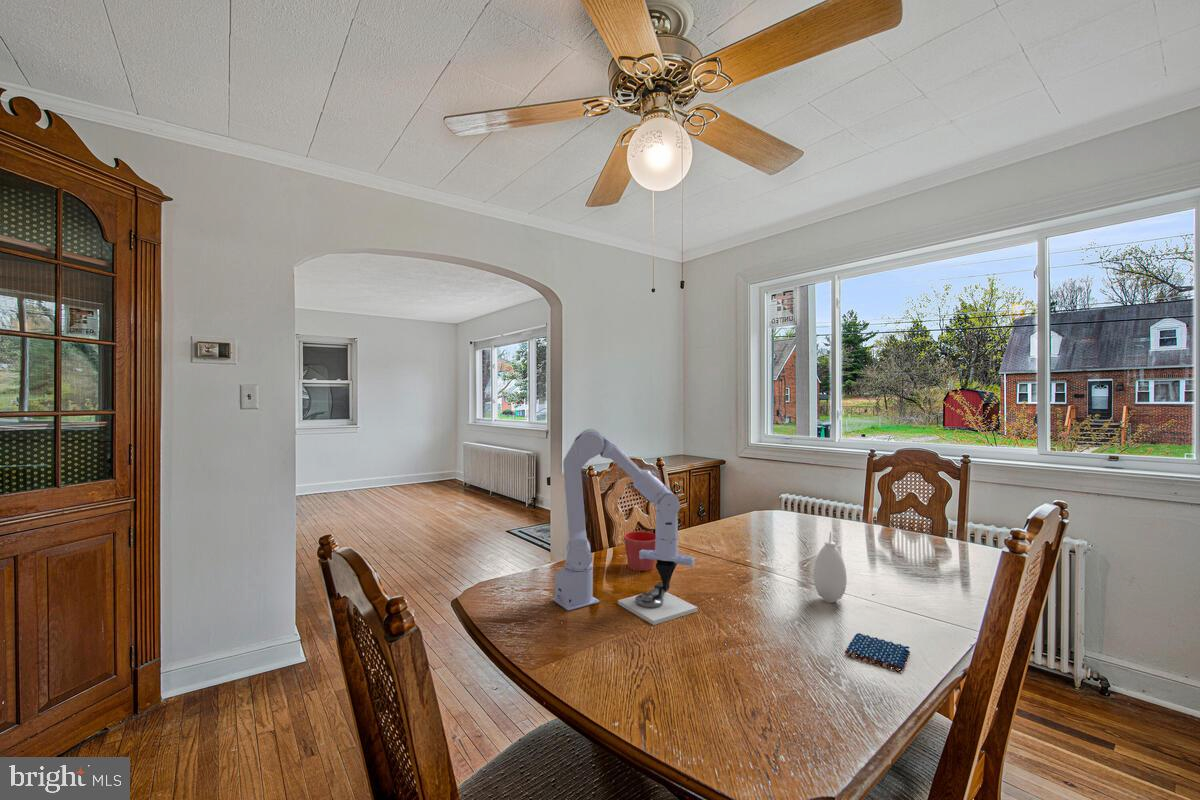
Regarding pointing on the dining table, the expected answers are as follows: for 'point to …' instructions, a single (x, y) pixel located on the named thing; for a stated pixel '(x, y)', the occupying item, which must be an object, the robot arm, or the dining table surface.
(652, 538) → the flower pot
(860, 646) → the woven mat
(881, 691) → the dining table surface
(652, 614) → the stand plate
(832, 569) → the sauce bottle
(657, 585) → the crank handle
